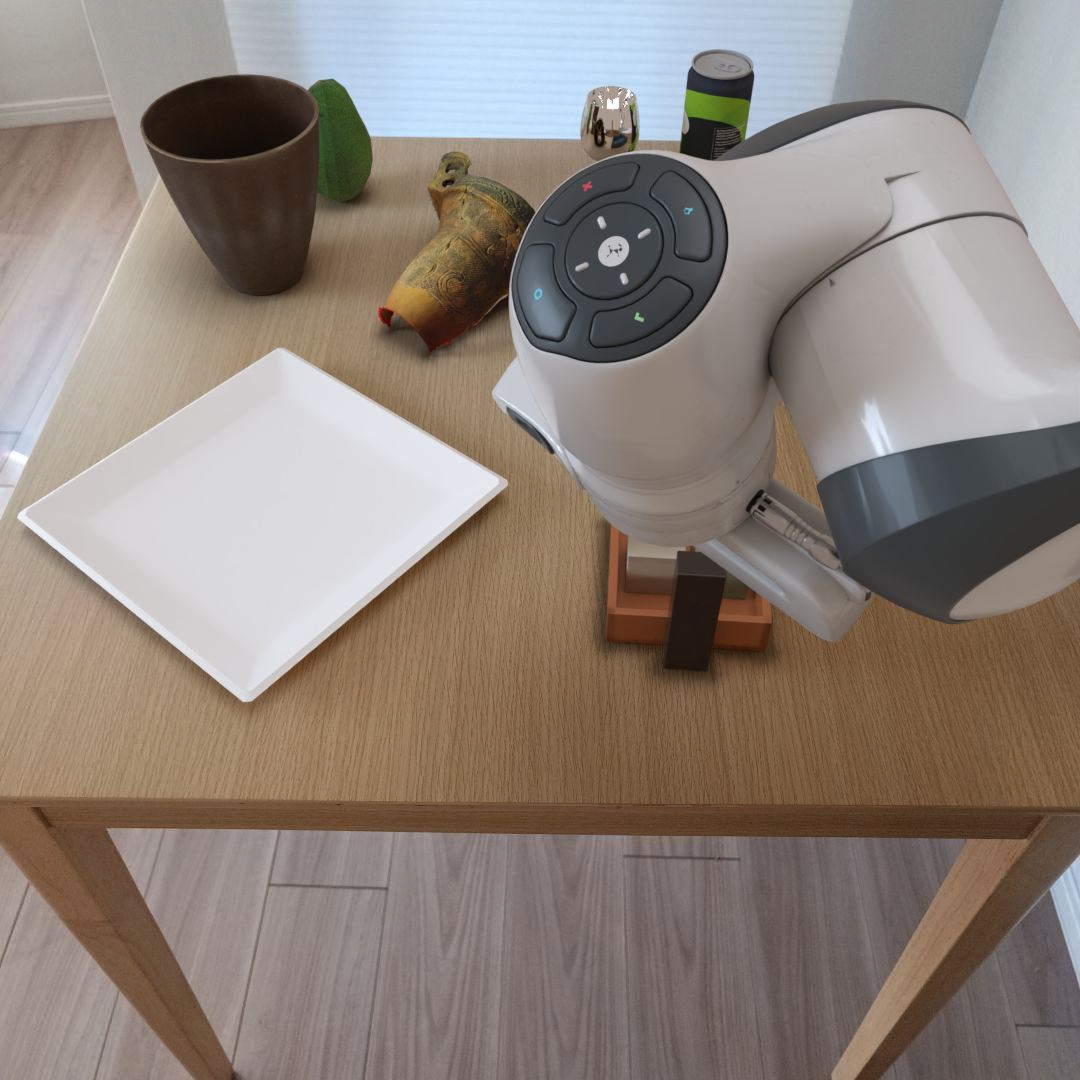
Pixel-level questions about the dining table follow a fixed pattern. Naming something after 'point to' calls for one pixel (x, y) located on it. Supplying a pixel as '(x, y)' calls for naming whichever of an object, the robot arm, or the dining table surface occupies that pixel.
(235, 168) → the plant pot
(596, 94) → the wineglass
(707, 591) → the pan
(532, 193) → the dining table surface
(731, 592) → the sage block
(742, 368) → the robot arm
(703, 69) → the beverage can
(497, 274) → the pot
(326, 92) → the fruit
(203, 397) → the plate
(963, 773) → the dining table surface
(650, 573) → the cream block
